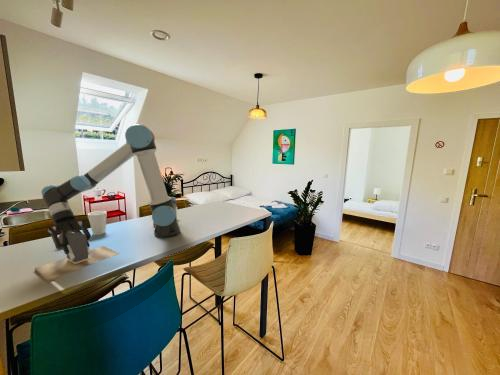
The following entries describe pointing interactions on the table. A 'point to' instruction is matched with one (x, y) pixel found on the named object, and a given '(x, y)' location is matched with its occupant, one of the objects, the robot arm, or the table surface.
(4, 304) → the table surface
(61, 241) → the vase
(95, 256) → the board
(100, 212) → the foam cup
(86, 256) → the block
